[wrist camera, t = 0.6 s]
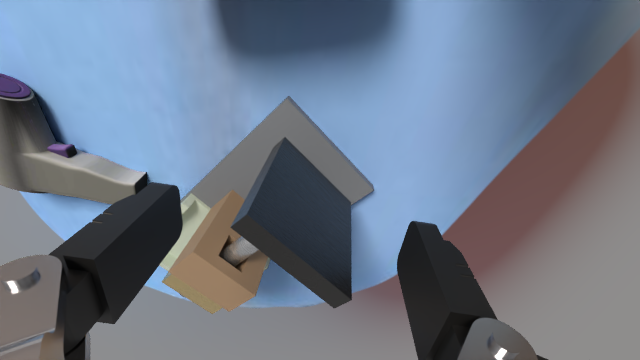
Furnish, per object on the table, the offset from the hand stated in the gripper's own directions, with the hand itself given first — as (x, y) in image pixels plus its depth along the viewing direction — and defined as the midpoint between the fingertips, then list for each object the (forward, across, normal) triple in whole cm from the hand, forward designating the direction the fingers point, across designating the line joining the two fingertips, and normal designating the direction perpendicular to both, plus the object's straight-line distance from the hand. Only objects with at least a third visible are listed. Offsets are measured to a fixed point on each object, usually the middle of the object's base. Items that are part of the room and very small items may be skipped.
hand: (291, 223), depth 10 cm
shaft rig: (+20, +7, +15) cm, 26 cm away
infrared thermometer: (+21, +26, +9) cm, 35 cm away
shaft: (+16, +5, +13) cm, 21 cm away
